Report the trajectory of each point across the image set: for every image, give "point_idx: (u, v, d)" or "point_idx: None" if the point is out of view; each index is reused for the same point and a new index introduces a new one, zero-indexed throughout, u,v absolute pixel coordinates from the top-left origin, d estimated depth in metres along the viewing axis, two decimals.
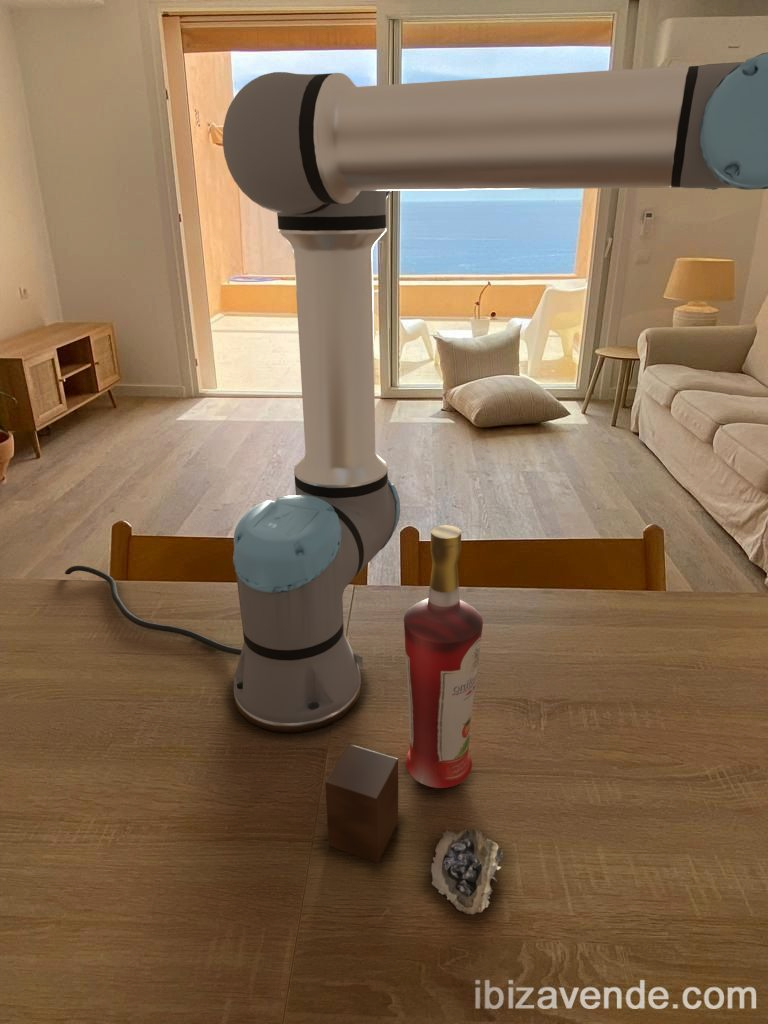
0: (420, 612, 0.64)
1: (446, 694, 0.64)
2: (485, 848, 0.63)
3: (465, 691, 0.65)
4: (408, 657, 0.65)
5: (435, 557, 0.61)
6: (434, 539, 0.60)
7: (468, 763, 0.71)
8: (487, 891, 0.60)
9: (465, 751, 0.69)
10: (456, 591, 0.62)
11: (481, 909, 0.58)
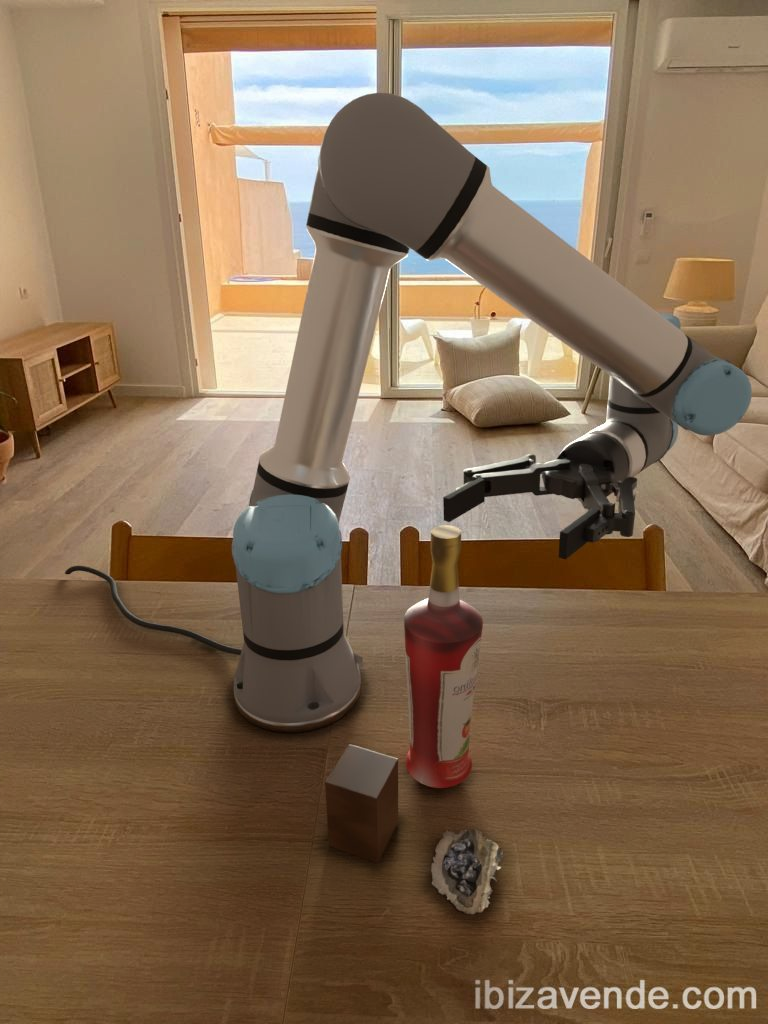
0: (420, 612, 0.64)
1: (446, 694, 0.64)
2: (485, 848, 0.63)
3: (465, 691, 0.65)
4: (408, 657, 0.65)
5: (435, 557, 0.61)
6: (434, 539, 0.60)
7: (468, 763, 0.71)
8: (487, 891, 0.60)
9: (465, 751, 0.69)
10: (456, 592, 0.62)
11: (481, 909, 0.58)
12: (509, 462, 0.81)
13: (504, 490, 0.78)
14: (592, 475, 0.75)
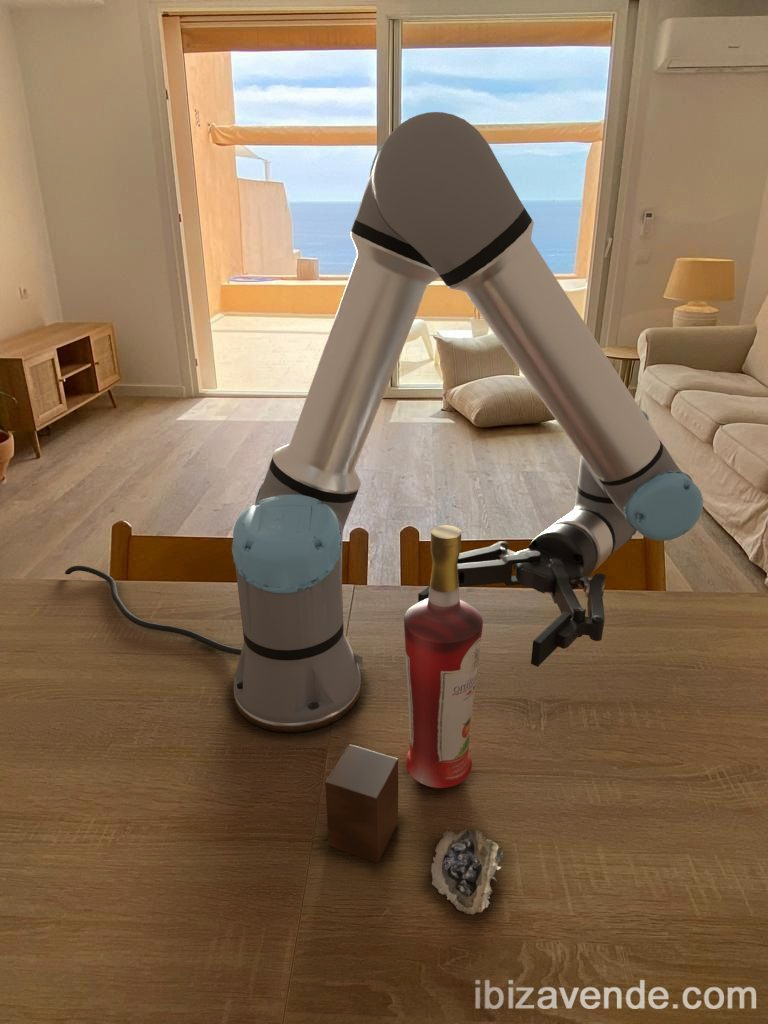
0: (420, 612, 0.64)
1: (446, 694, 0.64)
2: (485, 848, 0.63)
3: (465, 691, 0.65)
4: (408, 657, 0.65)
5: (435, 557, 0.61)
6: (434, 539, 0.60)
7: (468, 763, 0.71)
8: (487, 891, 0.60)
9: (465, 751, 0.69)
10: (456, 591, 0.62)
11: (481, 909, 0.58)
12: (482, 550, 0.83)
13: (477, 581, 0.80)
14: (563, 571, 0.77)
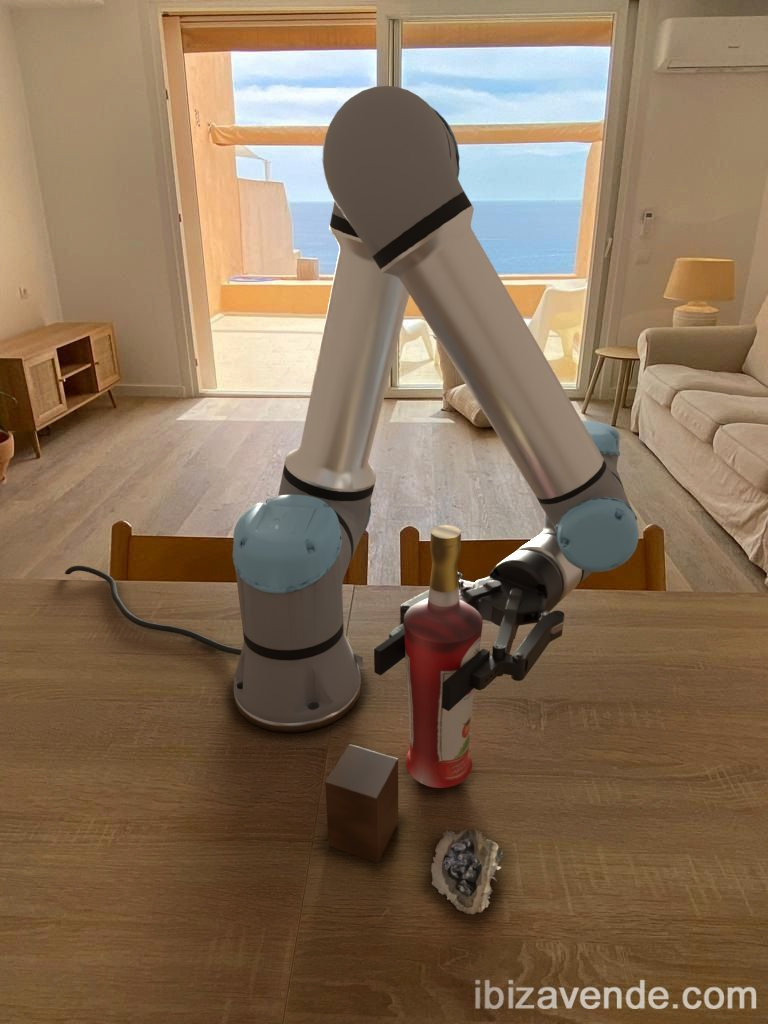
0: (420, 612, 0.64)
1: None
2: (485, 848, 0.63)
3: None
4: (408, 657, 0.65)
5: (435, 557, 0.61)
6: (434, 539, 0.60)
7: (468, 763, 0.71)
8: (487, 891, 0.60)
9: (465, 751, 0.69)
10: (456, 591, 0.62)
11: (481, 909, 0.58)
12: None
13: None
14: (516, 604, 0.71)
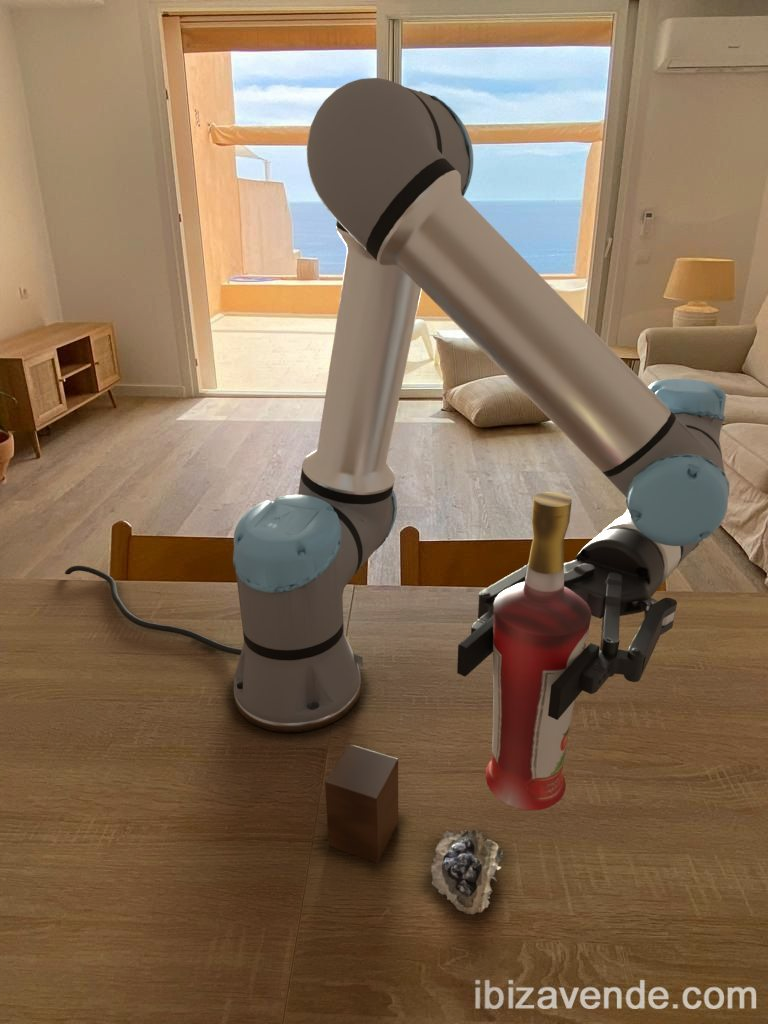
0: (515, 599, 0.52)
1: (547, 698, 0.53)
2: (485, 848, 0.63)
3: None
4: (499, 654, 0.53)
5: (539, 530, 0.50)
6: (539, 508, 0.49)
7: (562, 780, 0.60)
8: (487, 891, 0.60)
9: (561, 766, 0.58)
10: (561, 573, 0.51)
11: (481, 909, 0.58)
12: (522, 572, 0.63)
13: None
14: (618, 591, 0.59)
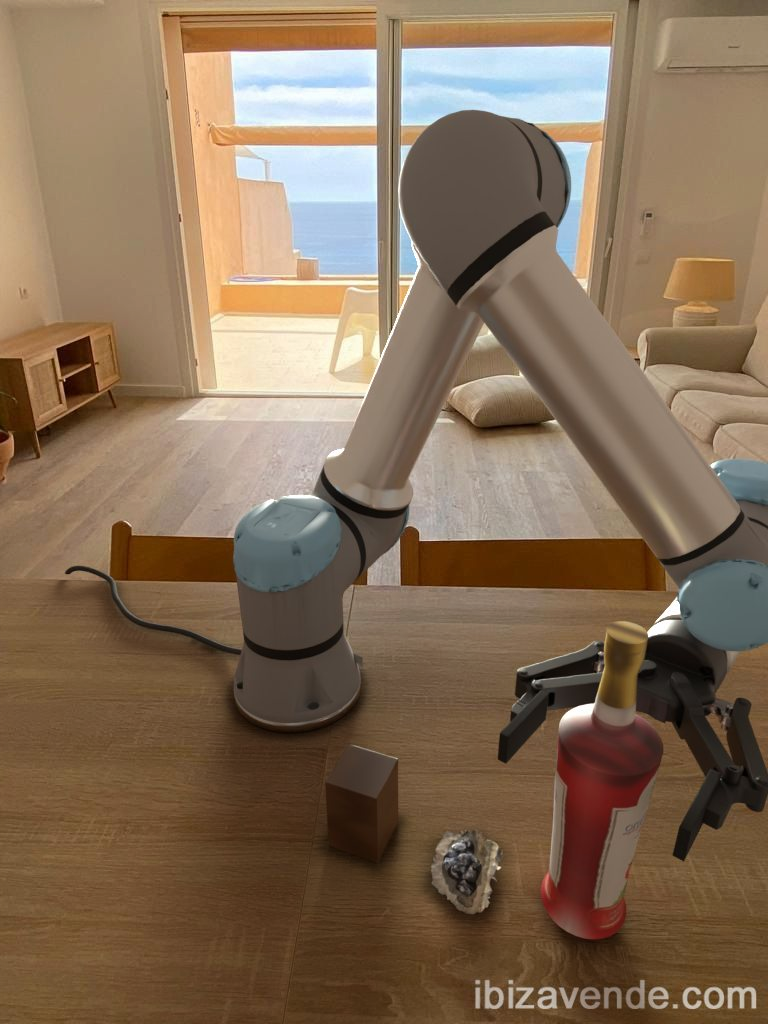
0: (583, 729, 0.50)
1: (615, 834, 0.50)
2: (485, 848, 0.63)
3: (638, 828, 0.51)
4: (564, 784, 0.51)
5: (612, 665, 0.47)
6: (614, 644, 0.46)
7: (623, 903, 0.57)
8: (487, 891, 0.60)
9: None
10: (634, 706, 0.48)
11: (481, 909, 0.58)
12: (574, 656, 0.62)
13: (571, 702, 0.59)
14: (693, 696, 0.56)
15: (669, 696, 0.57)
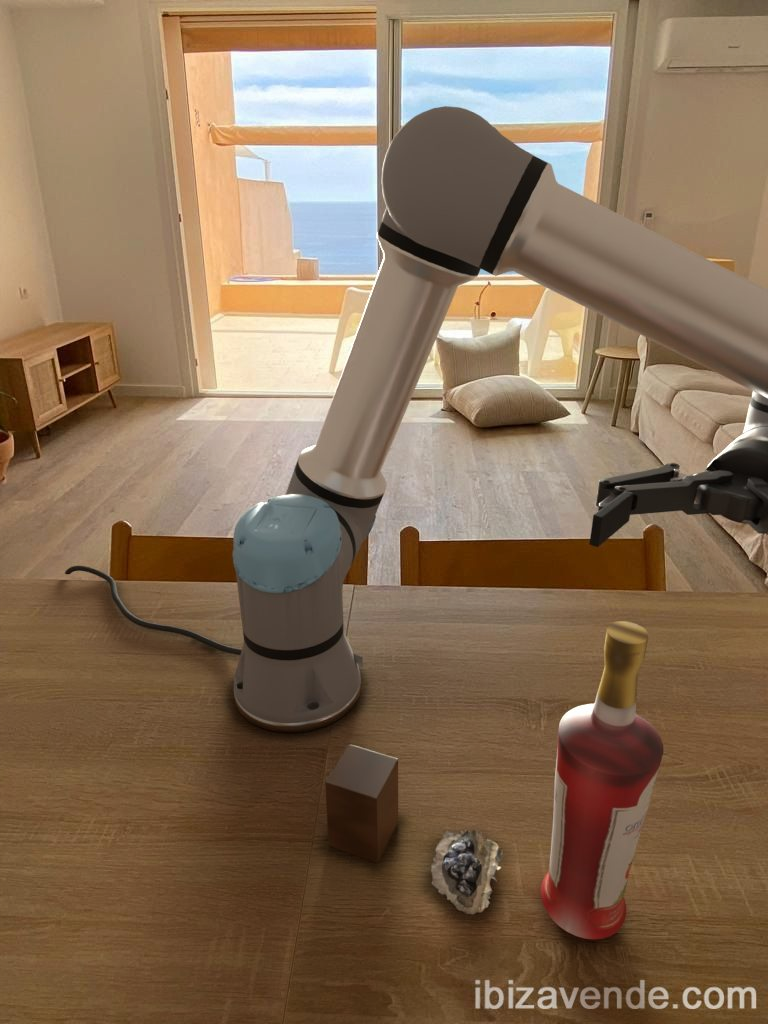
0: (583, 729, 0.50)
1: (615, 834, 0.50)
2: (485, 848, 0.63)
3: (638, 828, 0.51)
4: (564, 785, 0.51)
5: (613, 665, 0.47)
6: (614, 644, 0.46)
7: (623, 903, 0.57)
8: (487, 891, 0.60)
9: None
10: (634, 706, 0.48)
11: (481, 909, 0.58)
12: (651, 472, 0.65)
13: (651, 507, 0.62)
14: None
15: (747, 495, 0.60)
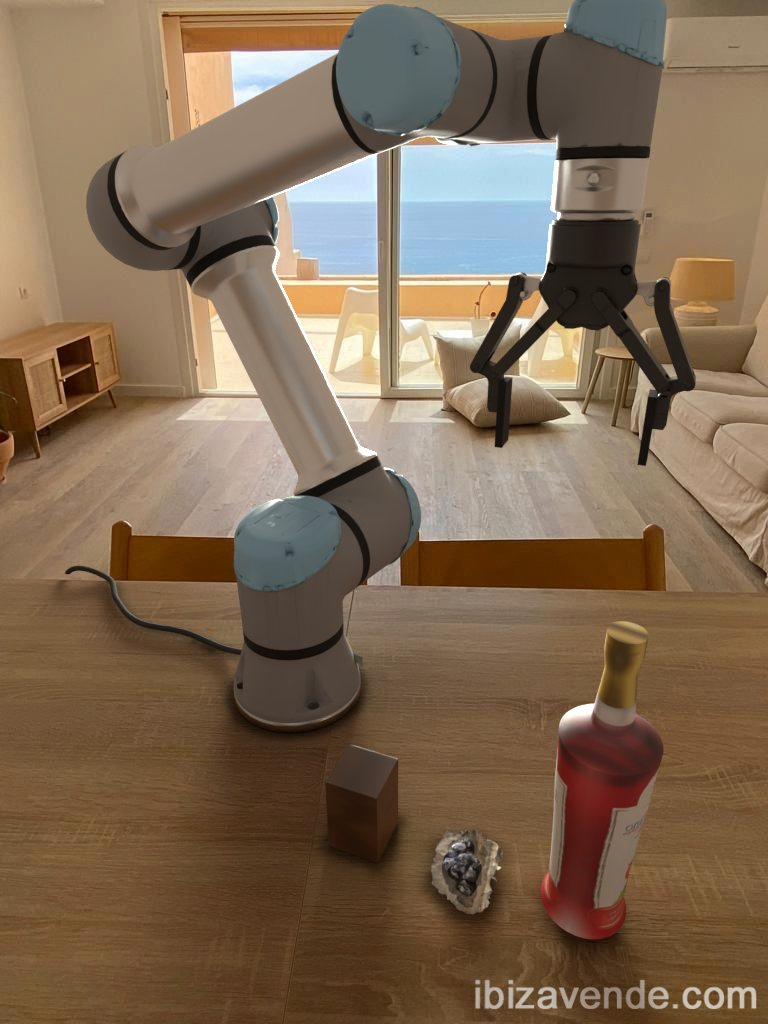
0: (583, 729, 0.50)
1: (615, 834, 0.50)
2: (485, 848, 0.63)
3: (638, 828, 0.51)
4: (564, 785, 0.51)
5: (613, 665, 0.47)
6: (614, 644, 0.46)
7: (623, 903, 0.57)
8: (487, 891, 0.60)
9: None
10: (634, 706, 0.48)
11: (481, 909, 0.58)
12: None
13: None
14: None
15: None
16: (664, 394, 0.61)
